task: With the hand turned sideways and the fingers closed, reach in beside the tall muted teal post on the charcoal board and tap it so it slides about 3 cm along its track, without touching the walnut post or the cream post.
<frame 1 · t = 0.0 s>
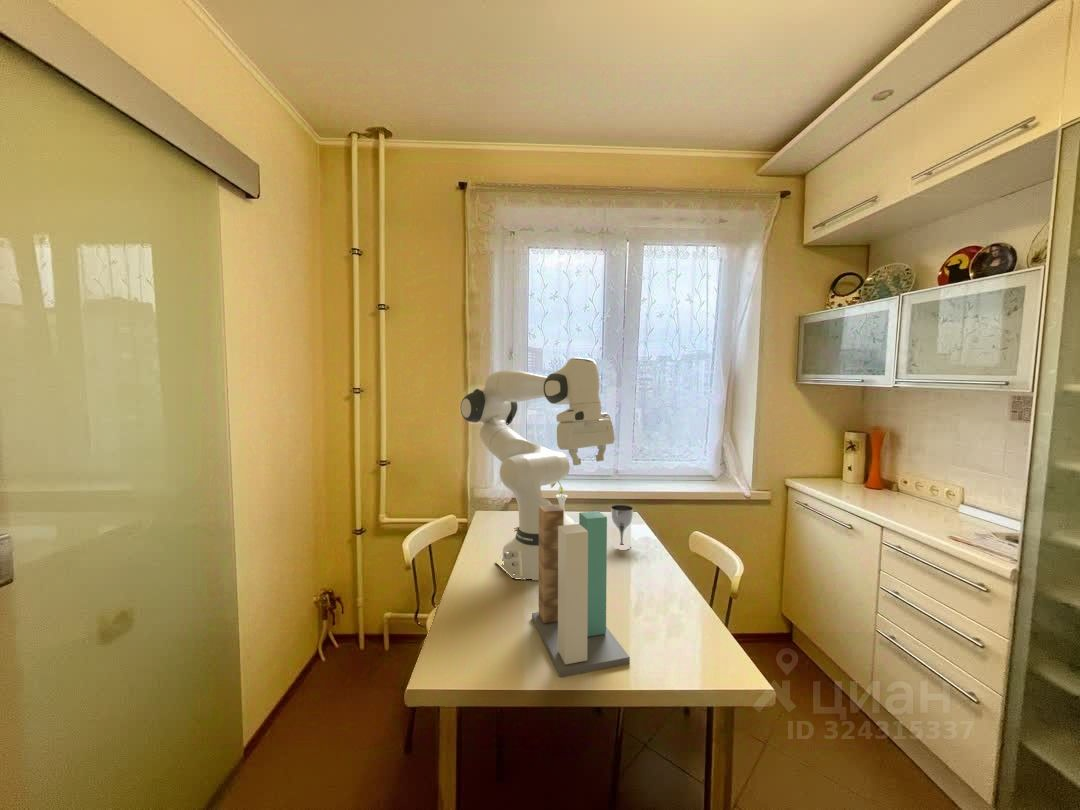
hand: (588, 463, 119), 39 cm above the table, tool pointing down, fingers open, 8 cm apart
board: (576, 639, 101), on the table
teal post: (592, 572, 101), point 16 cm above the table, slide at 0.0 cm
wine glass: (621, 547, 159), on the table
cream post: (572, 592, 91), point 16 cm above the table, slide at 0.0 cm
walnut post: (550, 562, 107), point 16 cm above the table, slide at 0.0 cm
flower in vase: (560, 528, 180), on the table
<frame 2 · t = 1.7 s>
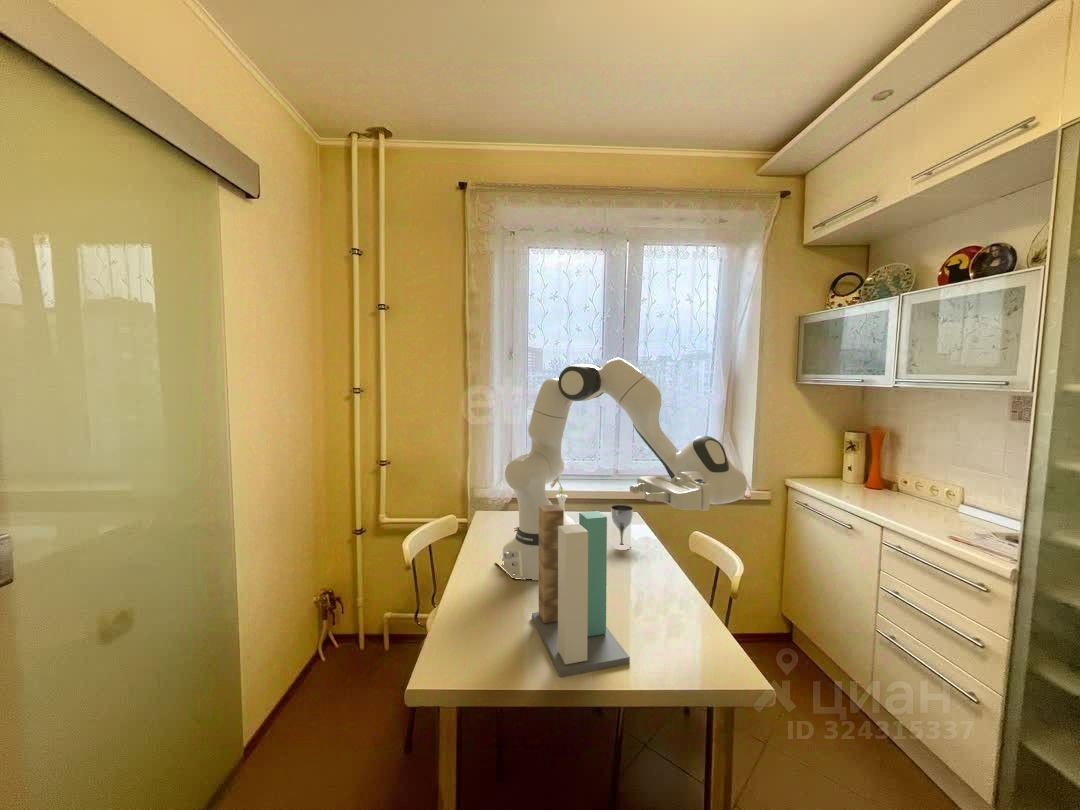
hand: (638, 493, 104), 34 cm above the table, tool horizontal, fingers open, 6 cm apart
nothing on the table moved.
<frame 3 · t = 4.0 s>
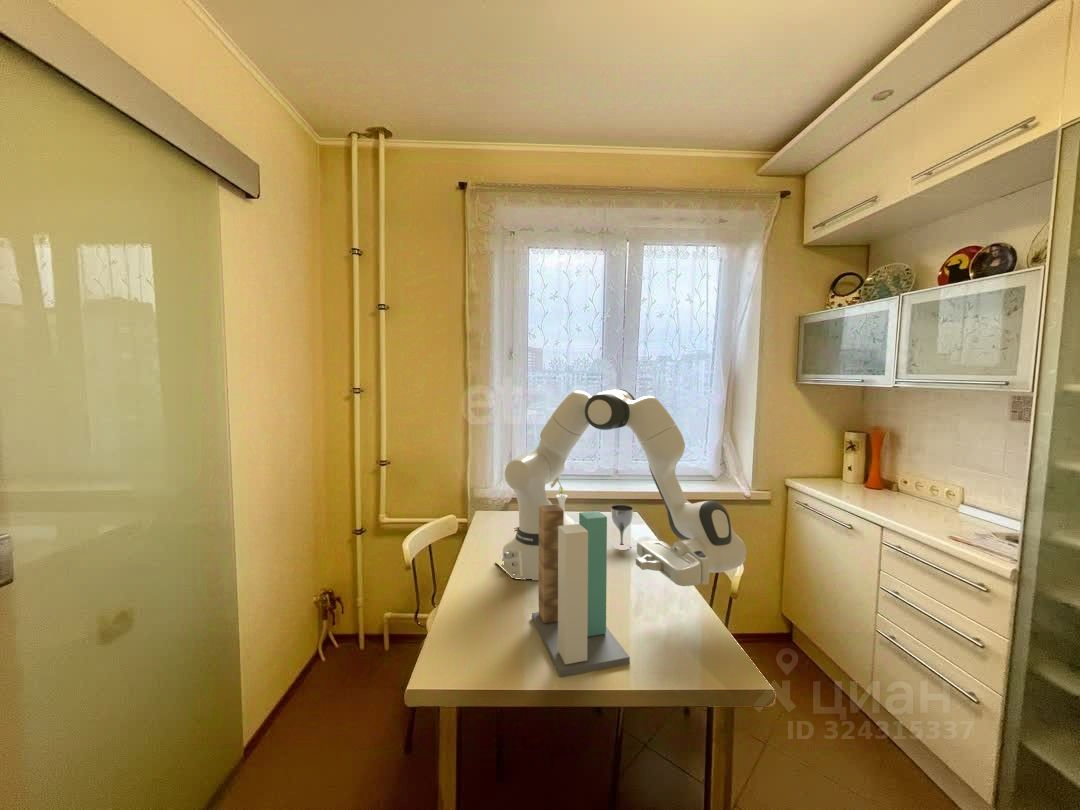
hand: (638, 564, 105), 16 cm above the table, tool horizontal, fingers closed
nothing on the table moved.
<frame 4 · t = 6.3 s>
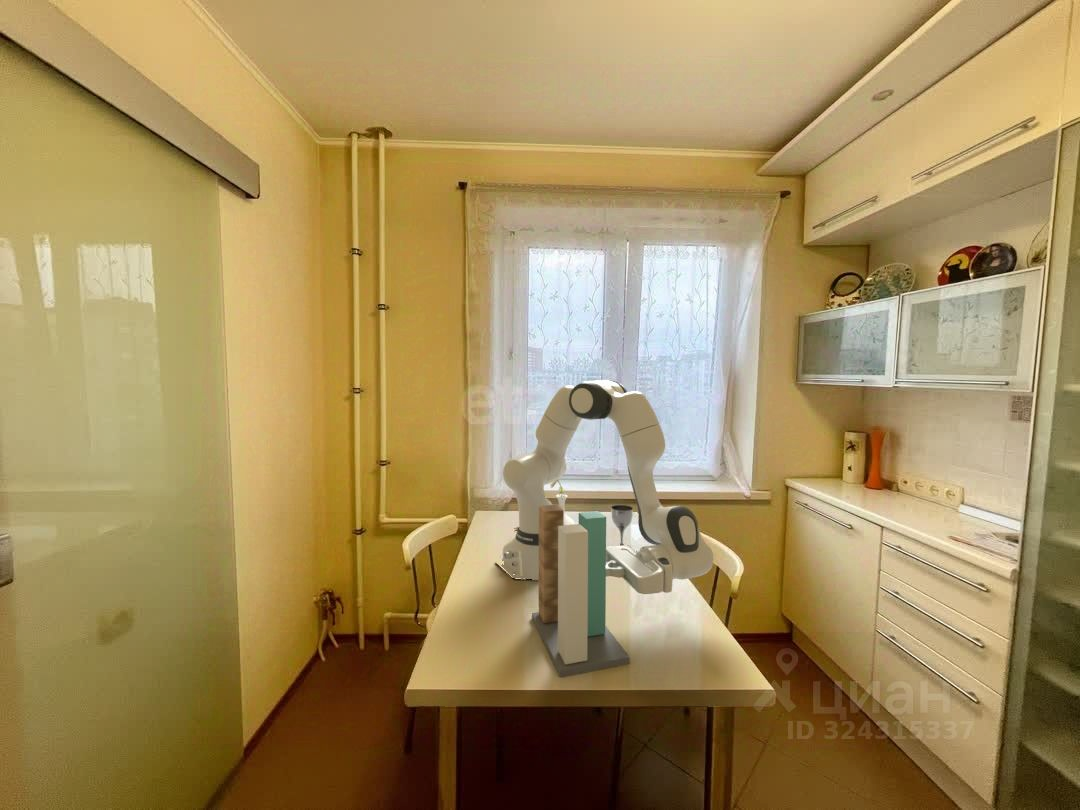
hand: (601, 570, 102), 16 cm above the table, tool horizontal, fingers closed, pressing on teal post
teal post: (591, 572, 101), point 16 cm above the table, slide at 0.2 cm, touching gripper
everything else where it was.
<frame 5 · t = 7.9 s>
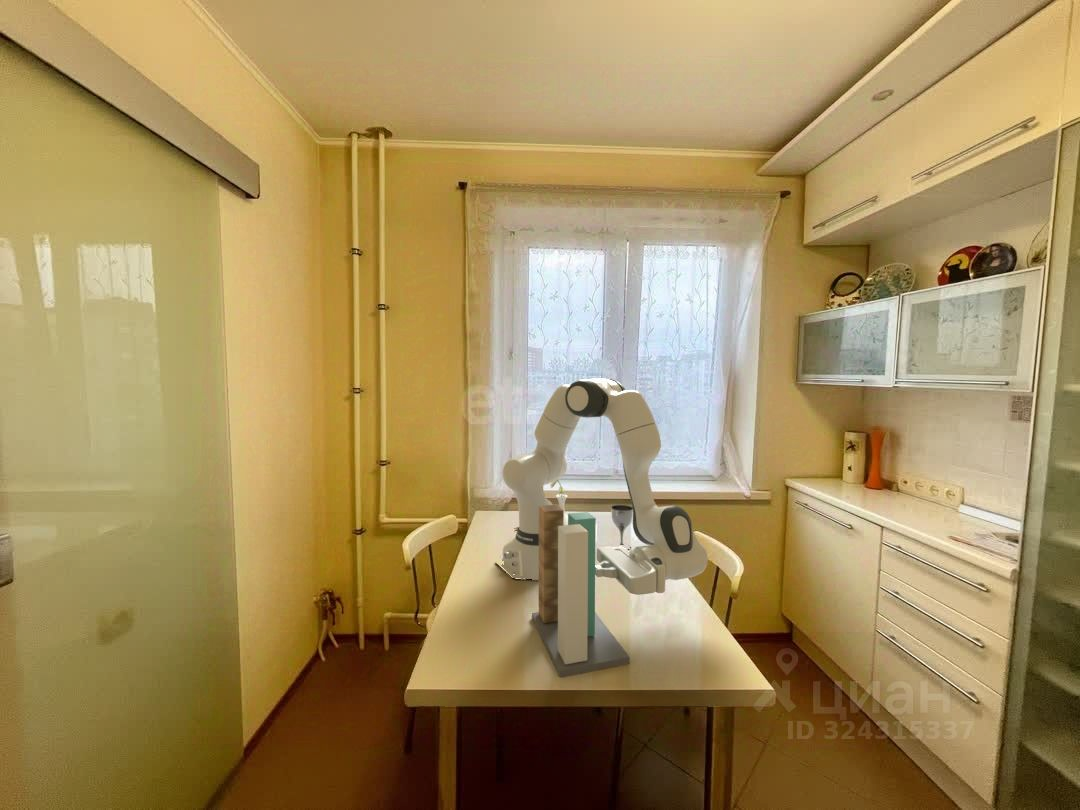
hand: (594, 571, 101), 16 cm above the table, tool horizontal, fingers closed
teal post: (581, 573, 101), point 16 cm above the table, slide at 2.9 cm
everything else where it was.
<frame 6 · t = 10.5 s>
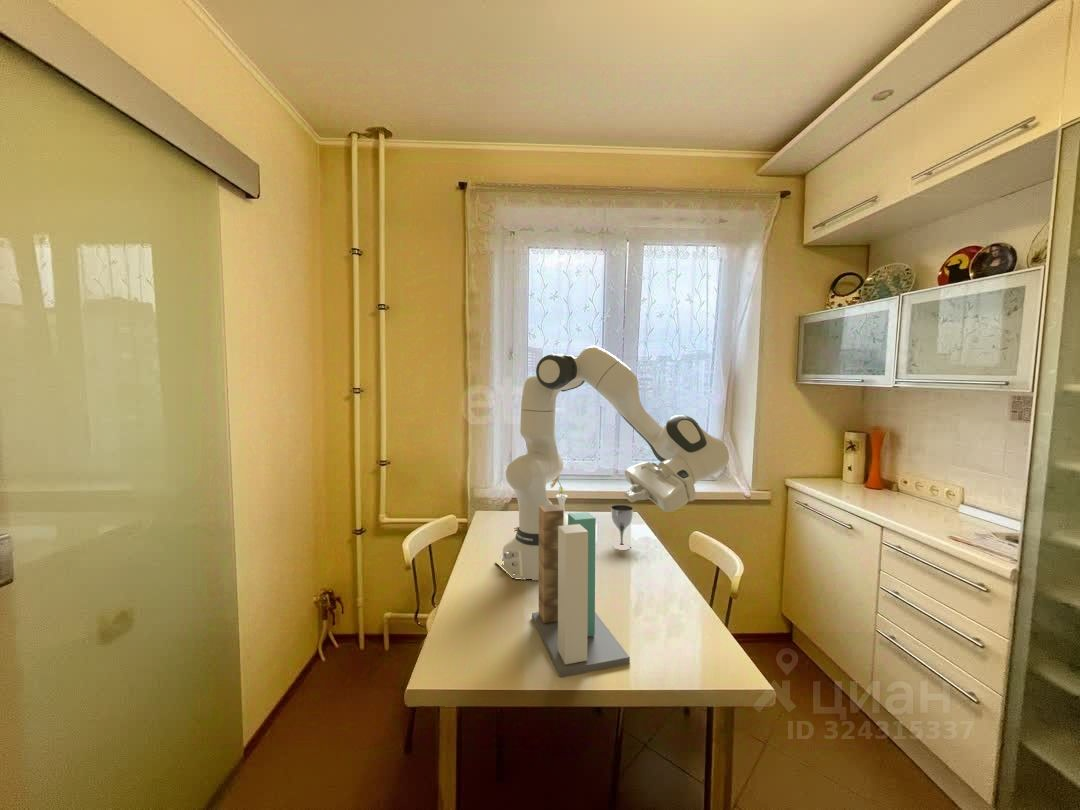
hand: (627, 497, 108), 32 cm above the table, tool tilted 70°, fingers closed
nothing on the table moved.
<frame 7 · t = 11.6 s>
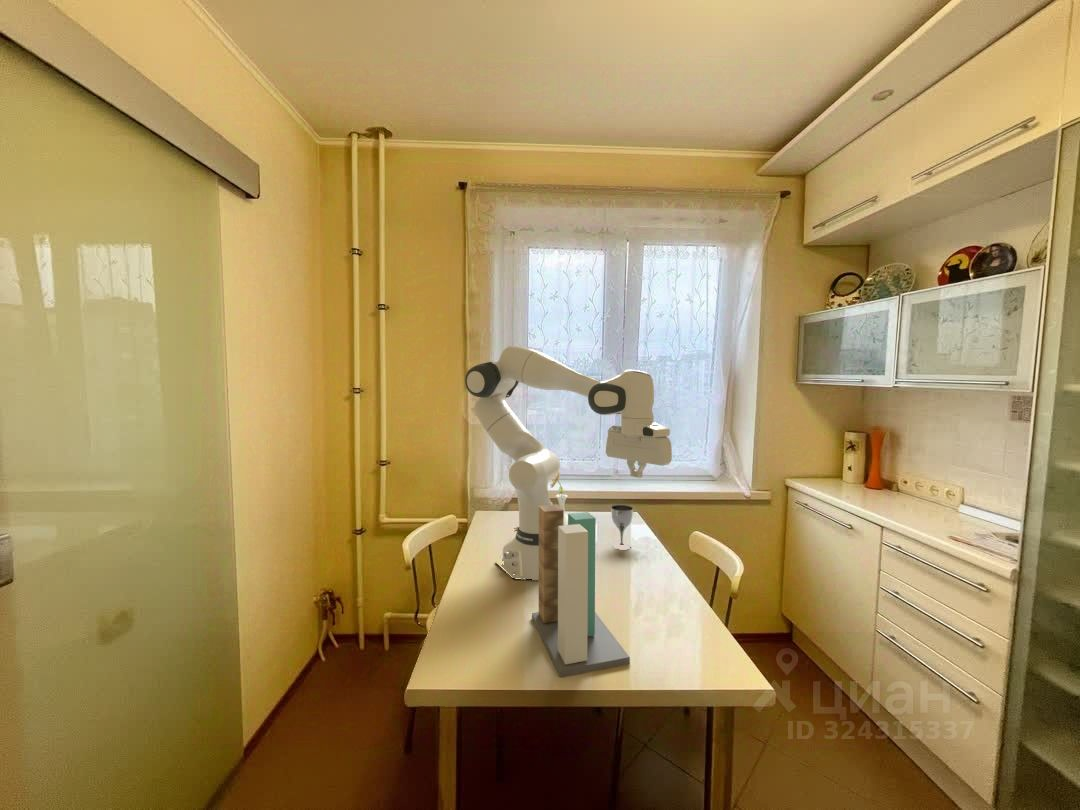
hand: (636, 476, 119), 35 cm above the table, tool pointing down, fingers closed
nothing on the table moved.
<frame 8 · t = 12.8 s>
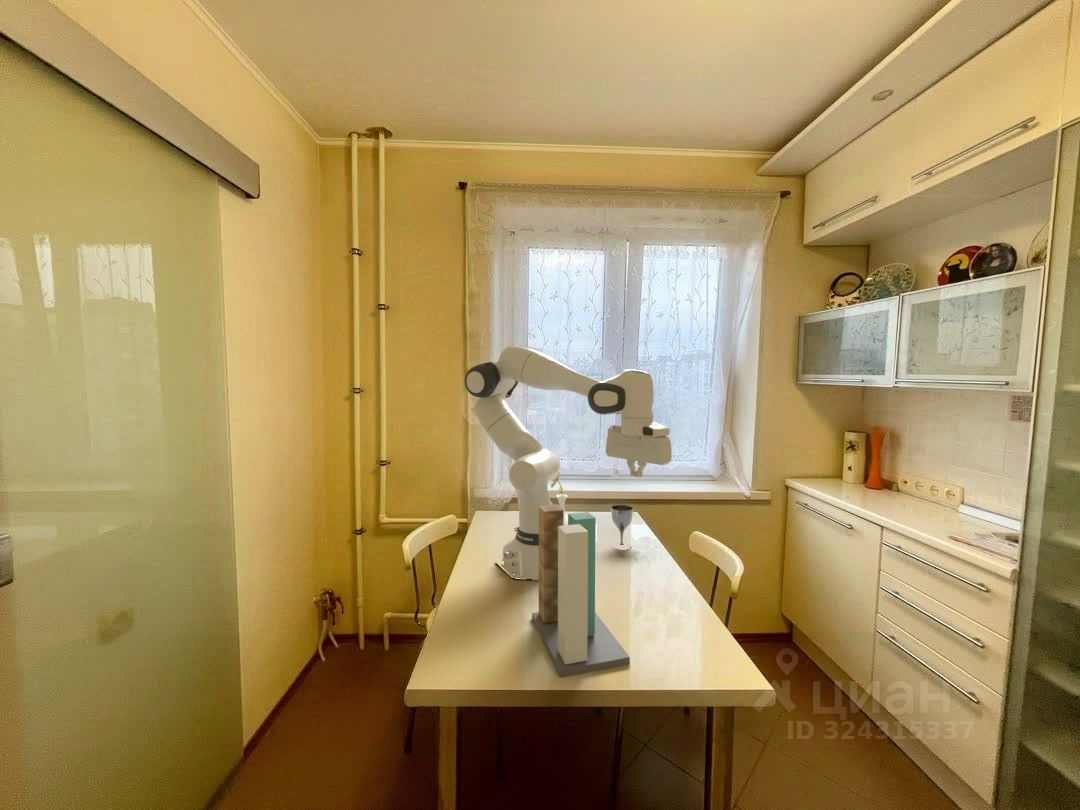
hand: (636, 476, 119), 35 cm above the table, tool pointing down, fingers closed
nothing on the table moved.
at the end: teal post slide at 2.9 cm; walnut post slide at 0.0 cm; cream post slide at 0.0 cm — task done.
